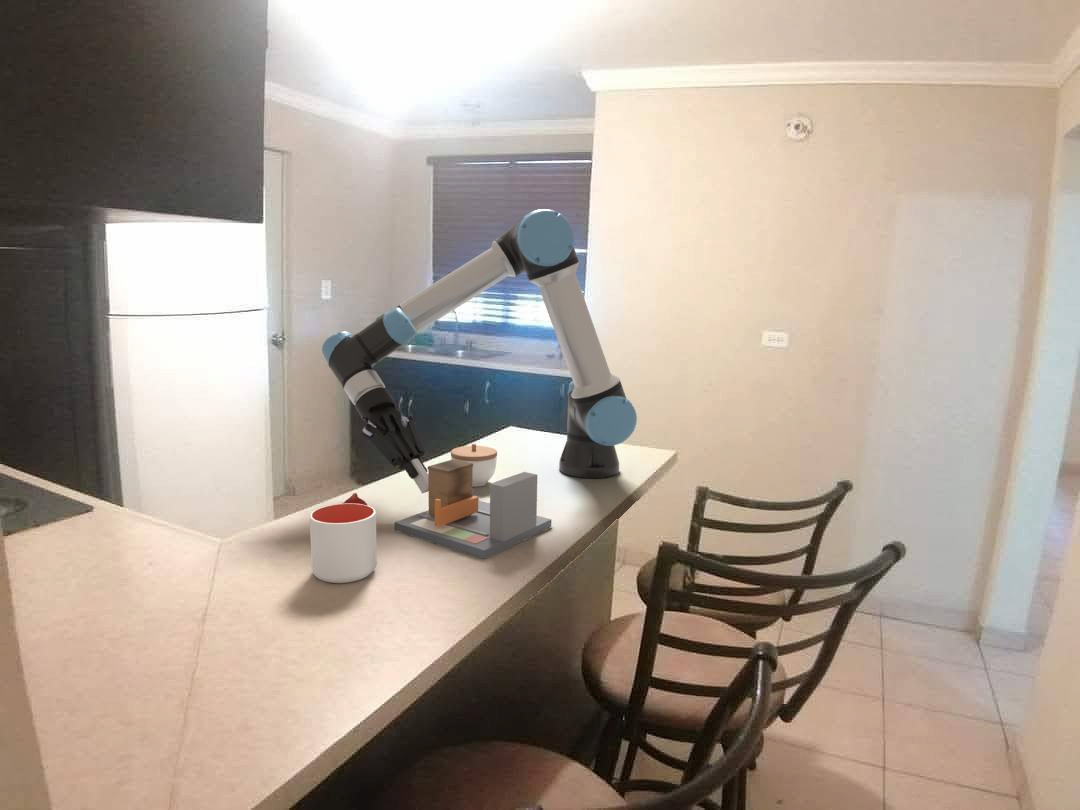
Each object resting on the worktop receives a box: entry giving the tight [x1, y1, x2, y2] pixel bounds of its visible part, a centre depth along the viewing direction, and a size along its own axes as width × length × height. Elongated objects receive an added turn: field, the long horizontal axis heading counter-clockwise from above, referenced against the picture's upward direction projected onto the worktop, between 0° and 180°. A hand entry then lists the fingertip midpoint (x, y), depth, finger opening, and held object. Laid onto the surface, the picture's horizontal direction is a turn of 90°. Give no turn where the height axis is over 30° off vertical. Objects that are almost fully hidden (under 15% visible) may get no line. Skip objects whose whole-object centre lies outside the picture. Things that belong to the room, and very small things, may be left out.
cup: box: [309, 503, 378, 584], centre depth 109 cm, size 10×10×10 cm
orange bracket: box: [435, 495, 479, 527], centre depth 129 cm, size 11×1×5 cm, turn 145°
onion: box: [342, 492, 369, 506], centre depth 126 cm, size 6×6×8 cm
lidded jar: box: [450, 443, 498, 488], centre depth 160 cm, size 11×11×9 cm
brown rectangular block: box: [427, 459, 473, 516], centre depth 133 cm, size 7×5×10 cm
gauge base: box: [393, 471, 552, 560], centre depth 130 cm, size 20×22×12 cm
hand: (428, 488), depth 137 cm, fingers closed
